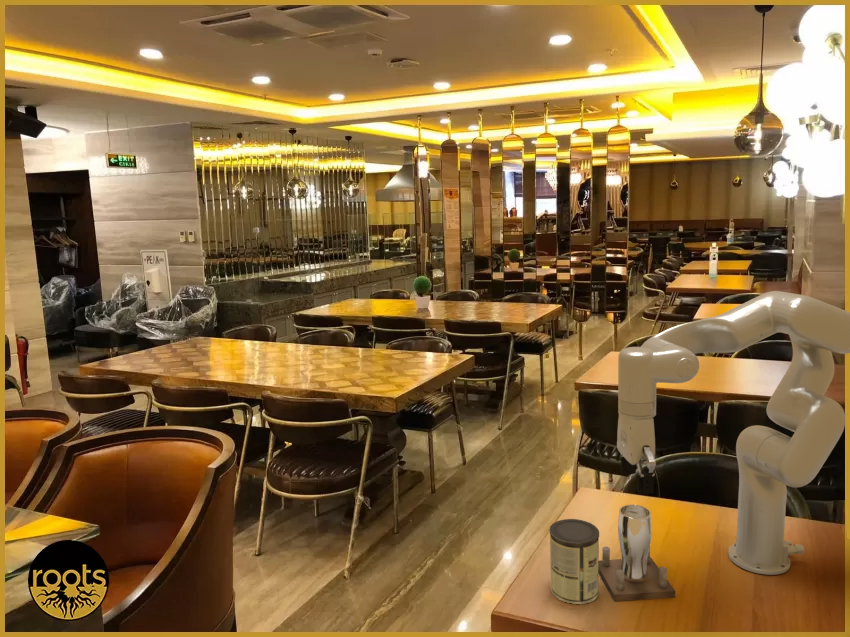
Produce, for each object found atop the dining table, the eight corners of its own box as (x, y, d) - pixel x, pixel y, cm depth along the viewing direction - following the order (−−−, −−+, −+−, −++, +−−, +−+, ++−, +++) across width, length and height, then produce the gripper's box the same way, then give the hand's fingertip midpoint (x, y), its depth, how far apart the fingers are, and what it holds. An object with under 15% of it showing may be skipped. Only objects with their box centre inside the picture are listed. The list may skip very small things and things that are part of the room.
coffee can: (557, 572, 145) (557, 515, 143) (603, 583, 140) (604, 523, 138) (543, 597, 136) (543, 536, 134) (592, 610, 131) (593, 547, 129)
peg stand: (650, 563, 147) (651, 541, 146) (675, 597, 134) (675, 573, 133) (595, 566, 147) (595, 544, 146) (614, 601, 134) (614, 577, 133)
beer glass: (631, 562, 145) (632, 500, 142) (657, 576, 139) (659, 512, 137) (610, 573, 141) (611, 510, 139) (636, 588, 136) (637, 522, 133)
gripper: (605, 395, 142) (606, 468, 145) (634, 421, 125) (634, 503, 128) (639, 393, 142) (638, 465, 145) (672, 419, 125) (671, 500, 128)
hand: (636, 483), depth 137 cm, fingers open, 9 cm apart
